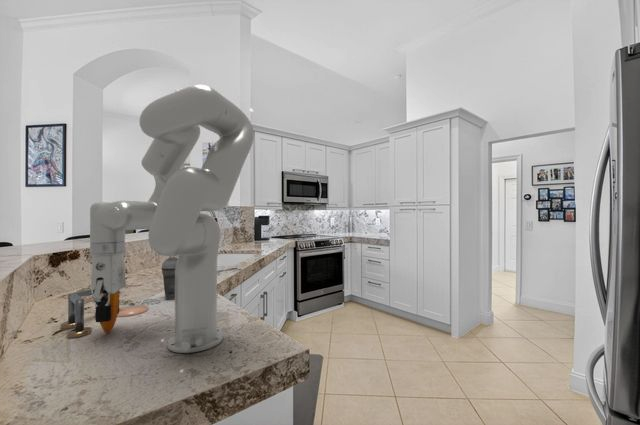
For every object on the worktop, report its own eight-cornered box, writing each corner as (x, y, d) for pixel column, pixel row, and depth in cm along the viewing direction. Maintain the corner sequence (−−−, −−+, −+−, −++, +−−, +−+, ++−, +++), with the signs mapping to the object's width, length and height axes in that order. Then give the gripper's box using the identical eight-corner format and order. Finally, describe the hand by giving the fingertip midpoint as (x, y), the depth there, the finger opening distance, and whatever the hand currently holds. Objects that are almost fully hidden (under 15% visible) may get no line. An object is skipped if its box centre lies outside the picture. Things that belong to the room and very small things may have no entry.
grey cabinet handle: (86, 336, 74) (86, 301, 75) (38, 342, 71) (38, 305, 72) (116, 311, 94) (116, 283, 95) (79, 315, 91) (80, 286, 92)
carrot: (116, 335, 75) (116, 277, 75) (93, 339, 73) (93, 279, 73) (121, 329, 79) (121, 274, 80) (99, 331, 78) (99, 276, 78)
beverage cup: (173, 301, 105) (173, 246, 106) (156, 300, 107) (156, 246, 107) (186, 296, 113) (186, 244, 113) (170, 295, 114) (170, 244, 114)
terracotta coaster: (144, 314, 91) (144, 312, 91) (106, 318, 88) (106, 316, 88) (152, 305, 101) (152, 304, 101) (118, 308, 98) (118, 306, 98)
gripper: (112, 251, 70) (112, 327, 69) (134, 245, 86) (134, 306, 86) (74, 253, 67) (74, 331, 67) (104, 246, 84) (104, 309, 83)
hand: (107, 317), depth 76 cm, fingers closed on carrot, 4 cm apart
